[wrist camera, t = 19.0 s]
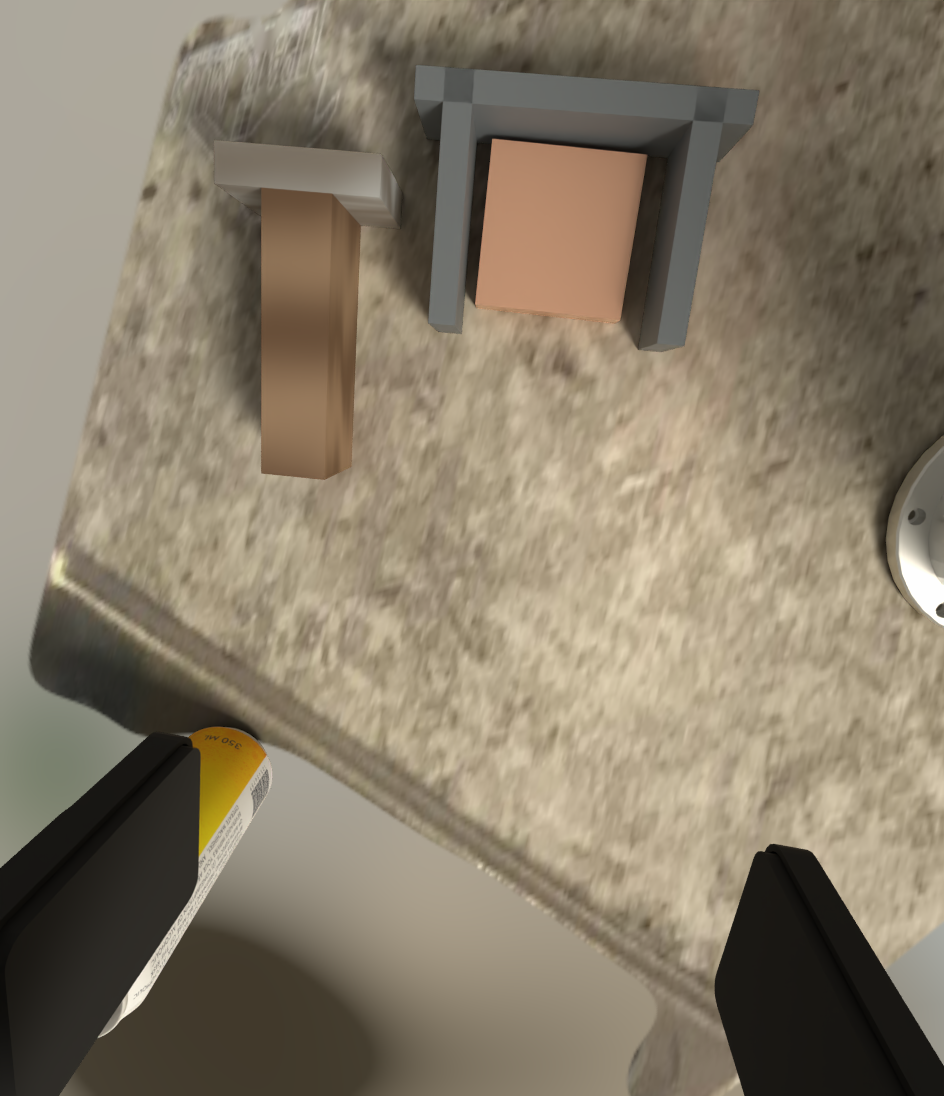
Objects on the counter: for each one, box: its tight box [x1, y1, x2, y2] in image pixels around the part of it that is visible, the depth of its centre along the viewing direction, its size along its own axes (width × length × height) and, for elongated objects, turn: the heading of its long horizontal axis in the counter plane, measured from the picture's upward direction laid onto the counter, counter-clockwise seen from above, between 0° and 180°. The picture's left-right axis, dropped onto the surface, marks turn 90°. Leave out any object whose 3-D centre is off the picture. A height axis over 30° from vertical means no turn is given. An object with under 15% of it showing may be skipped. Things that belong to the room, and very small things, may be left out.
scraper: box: [214, 140, 403, 480], centre depth 29 cm, size 14×7×5 cm, turn 175°
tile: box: [475, 139, 647, 323], centre depth 29 cm, size 7×7×2 cm
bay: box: [414, 65, 759, 352], centre depth 27 cm, size 14×10×4 cm
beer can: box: [98, 727, 273, 1038], centre depth 31 cm, size 6×6×15 cm
